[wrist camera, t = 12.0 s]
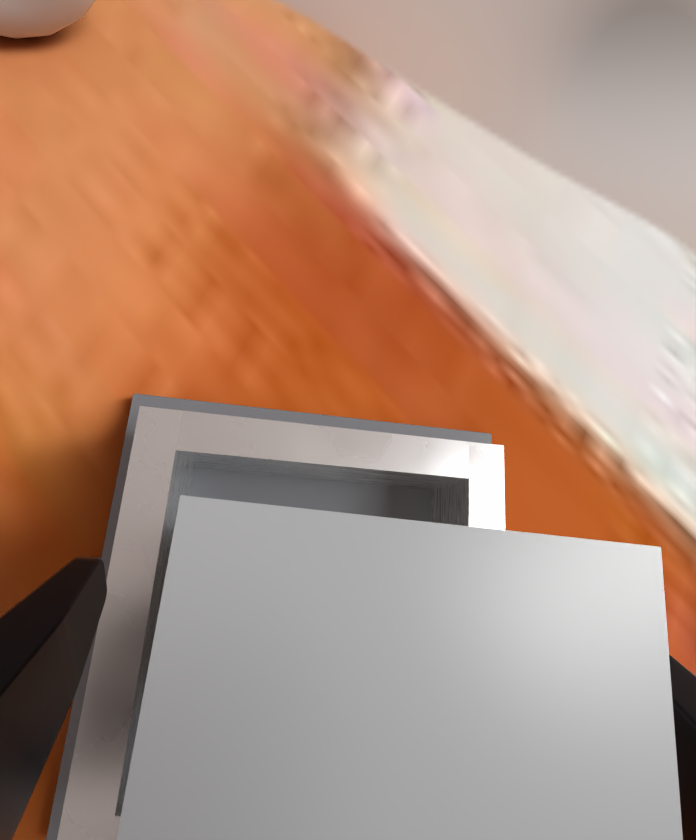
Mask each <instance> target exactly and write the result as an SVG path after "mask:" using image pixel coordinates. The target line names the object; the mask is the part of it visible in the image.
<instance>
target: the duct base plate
mask: <svg viewBox="0 0 696 840" xmlns="http://www.w3.org/2000/svg"><path fill="white" fill-rule="evenodd" d="M140 406H146V407H155V408H164V409H173V410H182V411H191V412H201V413H210V414H219V415H228V416H237V417H246V418H256V419H265V420H274V421H283V422H292V423H302V424H311V425H320V426H329V427H338V428H347V429H357V430H366V431H375V432H384V433H393V434H403V435H412V436H421V437H430V438H439V439H448V440H458V441H467V442H476V443H485V444H492V441H491V434H488V433H480V432H471V431H462V430H453V429H444V428H435V427H426V426H417V425H408V424H399V423H391V422H382V421H373V420H364V419H355V418H346V417H337V416H328V415H319V414H310V413H302V412H293V411H284V410H275V409H266V408H257V407H248V406H239V405H230V404H221V403H213V402H204V401H195V400H186V399H177V398H168V397H159V396H150V395H141V394H133V398H132V403H131V408H130V413H129V419H128V424H127V429H126V434H125V439H124V444H123V449H122V454H121V459H120V464H119V470H118V475H117V480H116V485H115V490H114V495H113V500H112V505H111V510H110V516H109V521H108V526H107V531H106V536H105V541H104V546H103V551H102V556H101V559H102V560H103V562H104V567H105V575H106V580H107V575H108V570H109V565H110V559H111V554H112V549H113V544H114V539H115V533H116V528H117V523H118V518H119V512H120V507H121V502H122V497H123V491H124V486H125V481H126V476H127V470H128V465H129V460H130V455H131V449H132V444H133V439H134V434H135V428H136V423H137V418H138V413H139V408H140ZM189 496H193V497H202V498H212V499H221V500H230V501H239V502H249V503H258V504H267V505H276V506H286V507H295V508H304V509H313V510H323V511H332V512H341V513H350V514H360V515H369V516H378V517H387V518H397V519H406V520H415V521H424V522H431V498H432V489H421V488H410V487H399V486H388V485H377V484H366V483H356V482H345V481H334V480H323V479H312V478H301V477H290V476H280V475H269V474H258V473H247V472H236V471H225V470H214V469H204V468H193V472H192V478H191V485H190V491H189ZM97 628H98V626H97ZM96 633H97V629H96V632H95V635H94V639H93V642H92V645H91V648H90V651H89V654H88V658H87V661H86V664H85V667H84V670H83V673H82V676H81V679H80V682H79V685H78V688H77V691H76V693H75V696H74V699H73V704H72V710H71V715H70V720H69V725H68V730H67V735H66V740H65V745H64V750H63V756H62V761H61V766H60V771H59V776H58V781H57V786H56V791H55V796H54V801H53V807H52V812H51V817H50V822H49V827H48V832H47V837H46V840H57V837H58V832H59V827H60V822H61V816H62V811H63V806H64V801H65V795H66V790H67V785H68V780H69V774H70V769H71V764H72V759H73V753H74V748H75V743H76V738H77V732H78V727H79V722H80V717H81V711H82V706H83V701H84V696H85V691H86V685H87V680H88V675H89V670H90V664H91V659H92V654H93V649H94V643H95V638H96Z"/></svg>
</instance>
